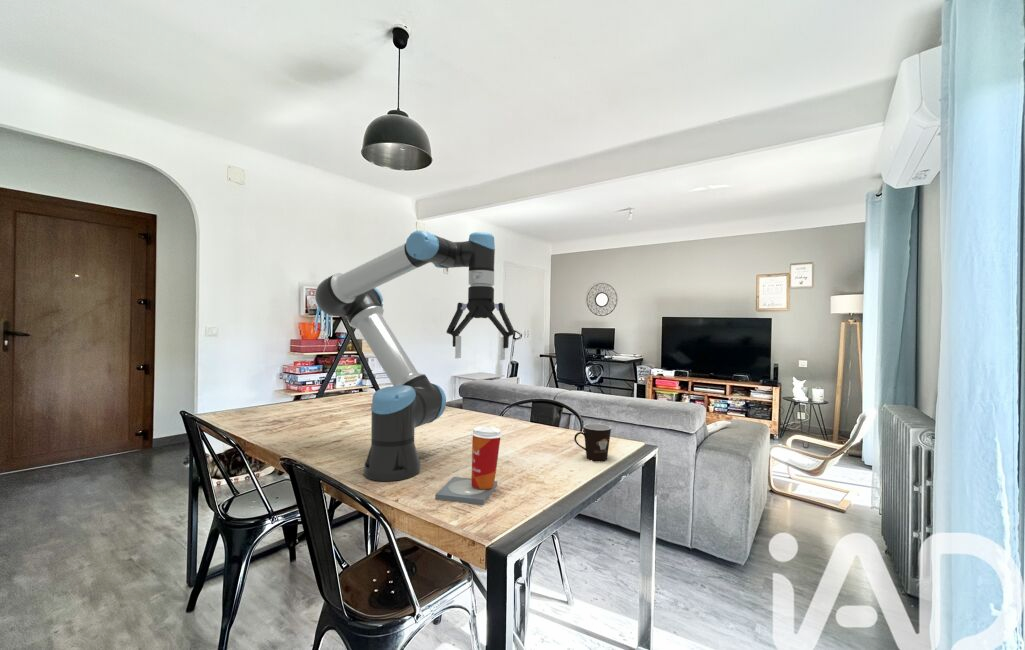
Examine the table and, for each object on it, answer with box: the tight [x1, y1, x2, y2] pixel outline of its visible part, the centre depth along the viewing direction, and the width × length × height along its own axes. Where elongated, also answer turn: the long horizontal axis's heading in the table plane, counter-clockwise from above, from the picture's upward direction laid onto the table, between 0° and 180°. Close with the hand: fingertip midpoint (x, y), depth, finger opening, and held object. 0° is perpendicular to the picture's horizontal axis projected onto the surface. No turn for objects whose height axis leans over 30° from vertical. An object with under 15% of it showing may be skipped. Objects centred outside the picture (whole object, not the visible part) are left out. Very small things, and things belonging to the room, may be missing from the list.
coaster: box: [434, 476, 498, 506], centre depth 103 cm, size 12×12×1 cm
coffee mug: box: [573, 423, 612, 462], centre depth 132 cm, size 12×9×10 cm
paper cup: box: [470, 426, 503, 489], centre depth 104 cm, size 8×8×14 cm
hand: (480, 359), depth 122 cm, fingers open, 13 cm apart
